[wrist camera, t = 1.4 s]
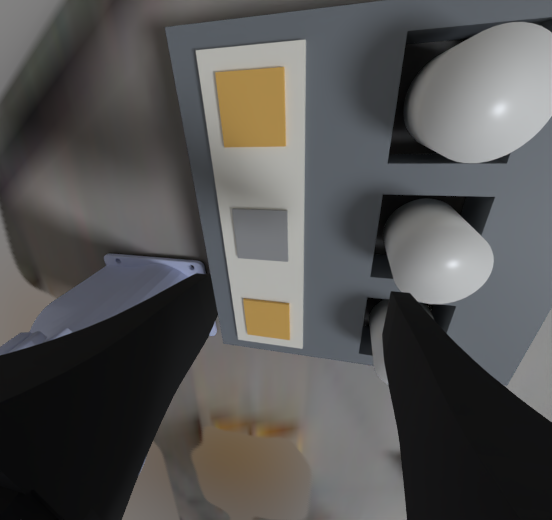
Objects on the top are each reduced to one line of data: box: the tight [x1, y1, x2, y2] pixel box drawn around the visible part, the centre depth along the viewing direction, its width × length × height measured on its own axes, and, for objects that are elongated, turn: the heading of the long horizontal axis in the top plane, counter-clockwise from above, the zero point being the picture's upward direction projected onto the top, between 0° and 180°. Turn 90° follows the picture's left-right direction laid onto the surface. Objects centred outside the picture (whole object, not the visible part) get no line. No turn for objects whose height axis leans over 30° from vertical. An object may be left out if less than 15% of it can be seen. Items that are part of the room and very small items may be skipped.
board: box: [165, 0, 552, 386], centre depth 16 cm, size 20×20×4 cm
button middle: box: [383, 198, 494, 304], centre depth 14 cm, size 4×4×4 cm
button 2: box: [403, 22, 552, 163], centre depth 11 cm, size 4×4×4 cm
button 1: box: [369, 299, 434, 385], centre depth 17 cm, size 4×4×4 cm
